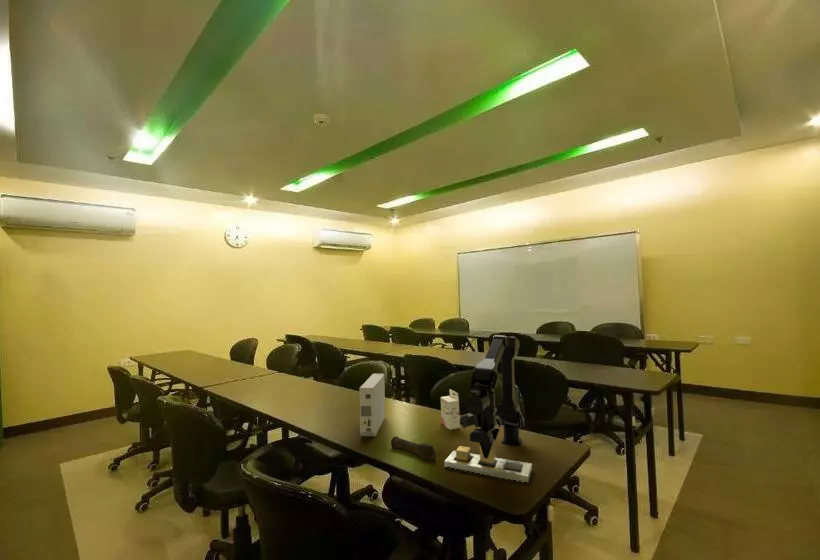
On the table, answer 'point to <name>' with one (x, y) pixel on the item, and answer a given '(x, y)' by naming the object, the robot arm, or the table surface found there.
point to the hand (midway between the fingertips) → (487, 455)
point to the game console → (372, 405)
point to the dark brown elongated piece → (414, 447)
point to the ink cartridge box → (450, 411)
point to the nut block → (491, 454)
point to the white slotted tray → (473, 464)
